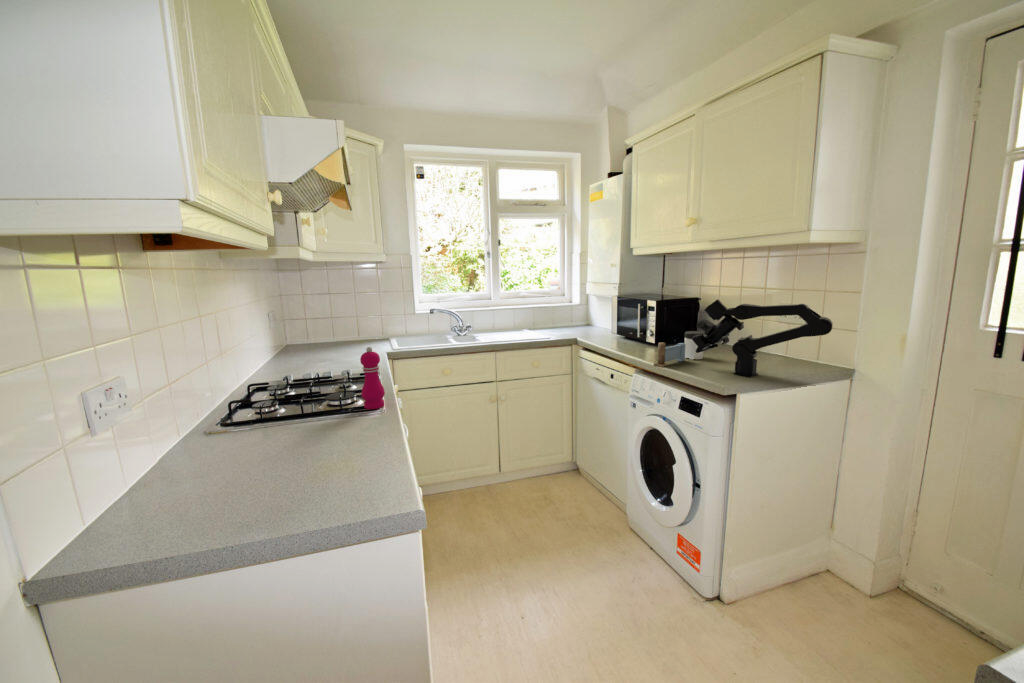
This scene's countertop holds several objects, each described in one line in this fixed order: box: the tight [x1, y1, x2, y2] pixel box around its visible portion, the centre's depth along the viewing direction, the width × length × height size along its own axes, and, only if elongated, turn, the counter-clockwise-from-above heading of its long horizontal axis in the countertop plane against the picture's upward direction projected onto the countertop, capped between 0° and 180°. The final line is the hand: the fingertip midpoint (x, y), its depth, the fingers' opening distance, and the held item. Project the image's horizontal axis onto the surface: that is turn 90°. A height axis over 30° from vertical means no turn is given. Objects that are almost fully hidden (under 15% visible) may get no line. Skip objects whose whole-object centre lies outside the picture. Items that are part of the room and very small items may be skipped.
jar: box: [684, 330, 705, 360], centre depth 192 cm, size 9×8×12 cm
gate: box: [665, 342, 686, 363], centre depth 184 cm, size 13×2×8 cm, turn 123°
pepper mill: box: [360, 346, 386, 410], centre depth 135 cm, size 7×7×20 cm
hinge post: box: [653, 342, 670, 368], centre depth 179 cm, size 4×4×10 cm
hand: (697, 351), depth 176 cm, fingers closed
